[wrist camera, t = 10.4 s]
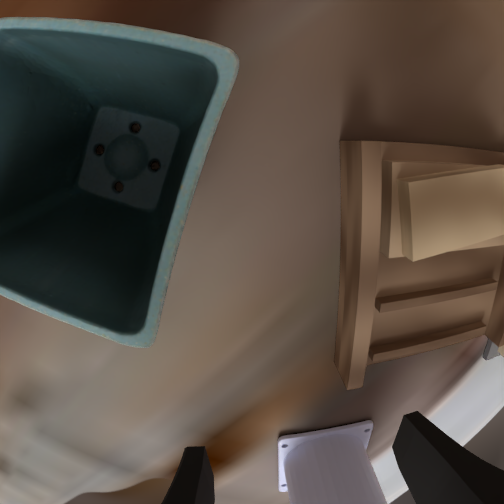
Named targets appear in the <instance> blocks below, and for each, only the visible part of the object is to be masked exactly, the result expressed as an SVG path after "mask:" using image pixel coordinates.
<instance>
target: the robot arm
mask: <svg viewBox="0 0 504 504" xmlns="http://www.w3.org/2000/svg"><path fill="white" fill-rule="evenodd" d="M372 429H373V422H372V421H371V420H367V421H363V422H359V423H354V424H349V425H345V426H340V427H335V428H329V429H324V430H318V431H312V432H306V433H300V434H293V435H285V436H281V437H279V438H278V488H279V491H281V492H286V491H288V494H289V500H290V504H387V501H386V499H385V496H384V494H383V492H382V489H381V487H380V484H379V482H378V479H377V477H376V474H375V472H374V469H373V467H372V465H371V462H370V460H369V457H368V455H367V452H366V449H367V446H368V442H369V439H370V436H371V432H372ZM392 448H393V451H394V454H395V458H396V461H397V464H398V467H399V469H400V471H401V473H402V476H403V478H404V480H405V482H406V484H407V486H408V488H409V490H410V492H411V494H412V496H413V498H414V500H415V502H416V504H504V471H503V470H501V469H499V468H497V467H495V466H493V465H491V464H489V463H487V462H486V461H484V460H482V459H480V458H479V457H477V456H476V455H474V454H473V453H471V452H469V451H468V450H466V449H465V448H464V447H462V446H461V445H460V444H458V443H457V442H456V441H454V440H453V439H452V438H450V437H449V436H448V435H446V434H445V433H444V432H443V431H441V430H440V429H439V428H438V427H436V426H435V425H434V424H433V423H432V422H430V421H429V420H428V419H427V418H426V417H424V416H423V415H422V414H421V413H419V412H418V411H416V412H413V413H409V414H406V415H404V416H403V419H402V422H401V425H400V427H399V430H398V433H397V436H396V438H395V441H394V443H393V446H392ZM214 502H215V495H214V475H213V472H212V469H211V466H210V462H209V459H208V456H207V452H206V449H205V446H201V447H186V448H185V450H184V453H183V456H182V459H181V462H180V465H179V467H178V470H177V472H176V475H175V477H174V479H173V481H172V484H171V486H170V488H169V490H168V492H167V494H166V496H165V498H164V500H163V502H162V503H161V504H214Z"/></svg>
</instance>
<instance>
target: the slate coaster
mask: <svg viewBox="0 0 504 504" xmlns="http://www.w3.org/2000/svg"><path fill="white" fill-rule="evenodd" d="M498 348H499V347H498V346H497V345H496V344H494V343H493V342H492V341H491V340H490V339H488V343H487V346H486V349H485V352H484V354H483V358H484V359H485V360H489V359H491V358H494V357H496V356H499V355H501V354H500V353H499V352H498Z"/></svg>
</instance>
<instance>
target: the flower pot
mask: <svg viewBox="0 0 504 504" xmlns="http://www.w3.org/2000/svg"><path fill="white" fill-rule="evenodd" d="M238 70H239V58H238V56H237V55H236V53H235V52H234V51H233V50H232V49H230V48H228V47H225V46H223V45H220V44H218V43H214V42H211V41H208V40H203V39H197V38H193V37H189V36H186V35H181V34H175V33H170V32H166V31H161V30H155V29H149V28H144V27H139V26H132V25H125V24H119V23H111V22H101V21H91V20H81V19H64V18H47V17H5V18H0V295H2V296H4V297H6V298H8V299H11V300H13V301H16V302H17V303H20V304H22V305H24V306H26V307H28V308H31V309H33V310H35V311H38V312H40V313H42V314H46V315H48V316H50V317H53V318H55V319H57V320H60V321H62V322H65V323H68V324H71V325H73V326H75V327H78V328H81V329H84V330H86V331H88V332H91V333H94V334H97V335H99V336H102V337H104V338H106V339H110V340H113V341H115V342H117V343H120V344H123V345H127V346H132V347H139V348H147V347H150V346H151V345H152V344H153V343H154V340H155V338H156V335H157V332H158V327H159V322H160V317H161V312H162V308H163V304H164V299H165V296H166V292H167V288H168V283H169V280H170V275H171V271H172V267H173V264H174V260H175V257H176V253H177V249H178V246H179V242H180V239H181V235H182V232H183V228H184V225H185V222H186V219H187V215H188V211H189V208H190V205H191V202H192V198H193V195H194V192H195V189H196V186H197V183H198V180H199V176H200V173H201V170H202V167H203V164H204V161H205V158H206V155H207V153H208V150H209V147H210V144H211V141H212V139H213V136H214V134H215V131H216V128H217V125H218V122H219V120H220V117H221V114H222V111H223V109H224V107H225V104H226V102H227V100H228V98H229V96H230V93H231V90H232V87H233V85H234V82H235V80H236V77H237V74H238ZM135 123H137V124H139V125H140V130H139V131H138V132H137V133H134V132H132V131H131V126H132V125H133V124H135ZM99 145H102V146H103V147H104V153H103V154H102V155H98V154H96V147H97V146H99ZM153 161H158V162H159V164H160V167H159V169H158V170H156V171H154V170H152V169H151V167H150V165H151V163H152V162H153ZM117 182H121V183H122V184H123V190H122V191H120V192H118V191H116V190H115V188H114V185H115V184H116V183H117Z"/></svg>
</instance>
